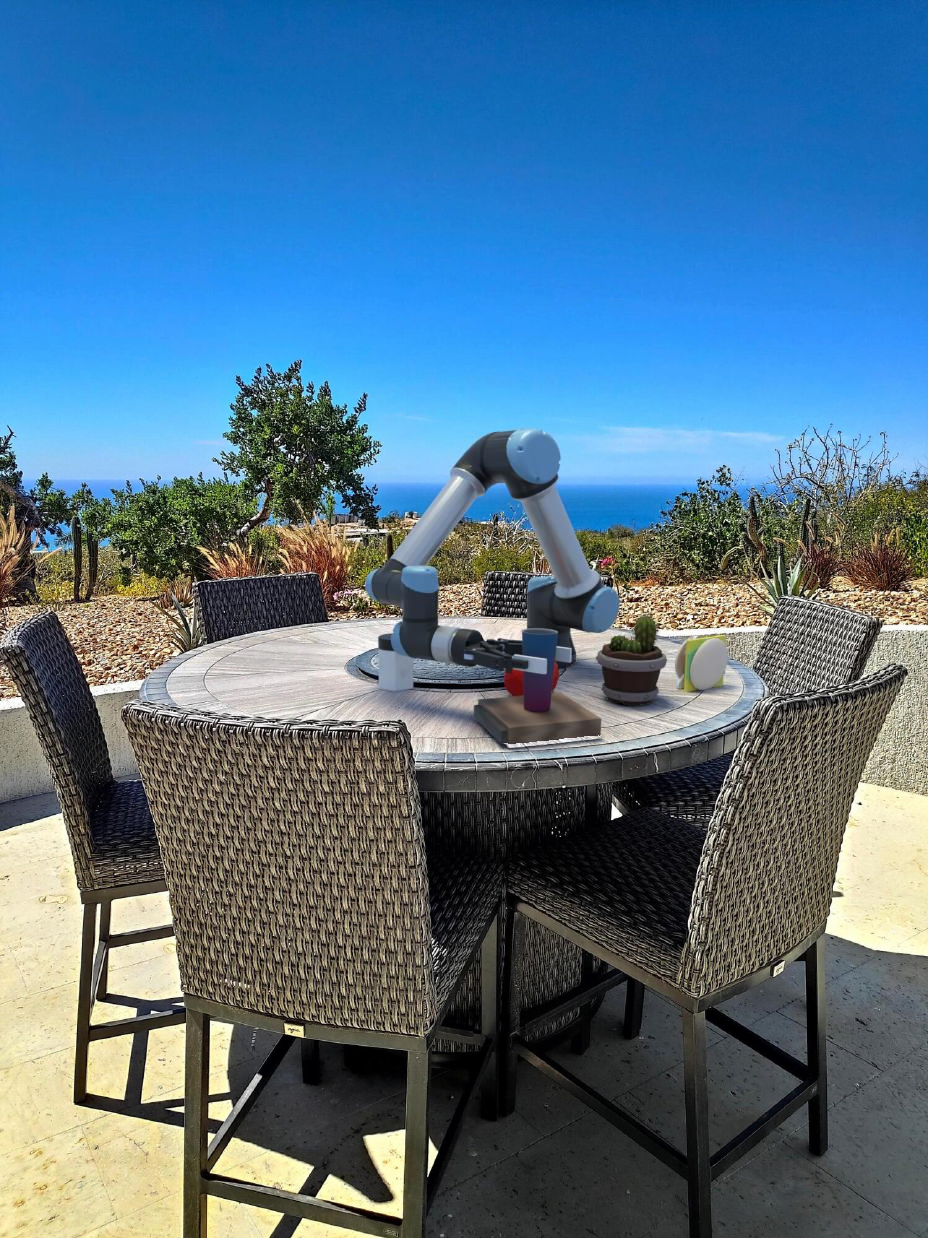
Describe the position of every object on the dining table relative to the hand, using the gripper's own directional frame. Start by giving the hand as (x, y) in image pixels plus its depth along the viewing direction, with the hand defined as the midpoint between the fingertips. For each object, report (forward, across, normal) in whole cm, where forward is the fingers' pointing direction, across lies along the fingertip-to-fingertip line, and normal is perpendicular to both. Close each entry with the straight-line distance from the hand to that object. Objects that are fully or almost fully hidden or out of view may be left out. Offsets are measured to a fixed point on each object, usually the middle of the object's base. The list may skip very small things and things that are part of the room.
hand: (558, 660), depth 133 cm
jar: (-46, -8, -14) cm, 48 cm away
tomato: (-15, -18, -14) cm, 28 cm away
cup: (-4, 0, -10) cm, 11 cm away
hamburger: (+13, -48, -14) cm, 52 cm away
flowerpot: (+4, -28, -14) cm, 32 cm away
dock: (-4, 0, -14) cm, 15 cm away
